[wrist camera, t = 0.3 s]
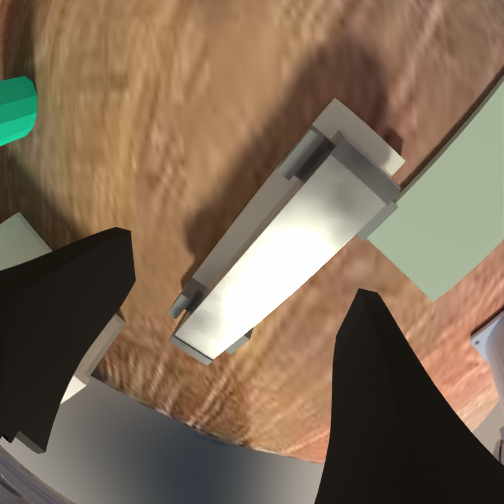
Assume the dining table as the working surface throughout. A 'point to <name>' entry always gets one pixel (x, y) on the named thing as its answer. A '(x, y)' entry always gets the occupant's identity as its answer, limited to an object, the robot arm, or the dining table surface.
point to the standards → (277, 187)
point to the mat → (451, 205)
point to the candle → (16, 108)
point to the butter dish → (30, 247)
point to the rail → (288, 246)
